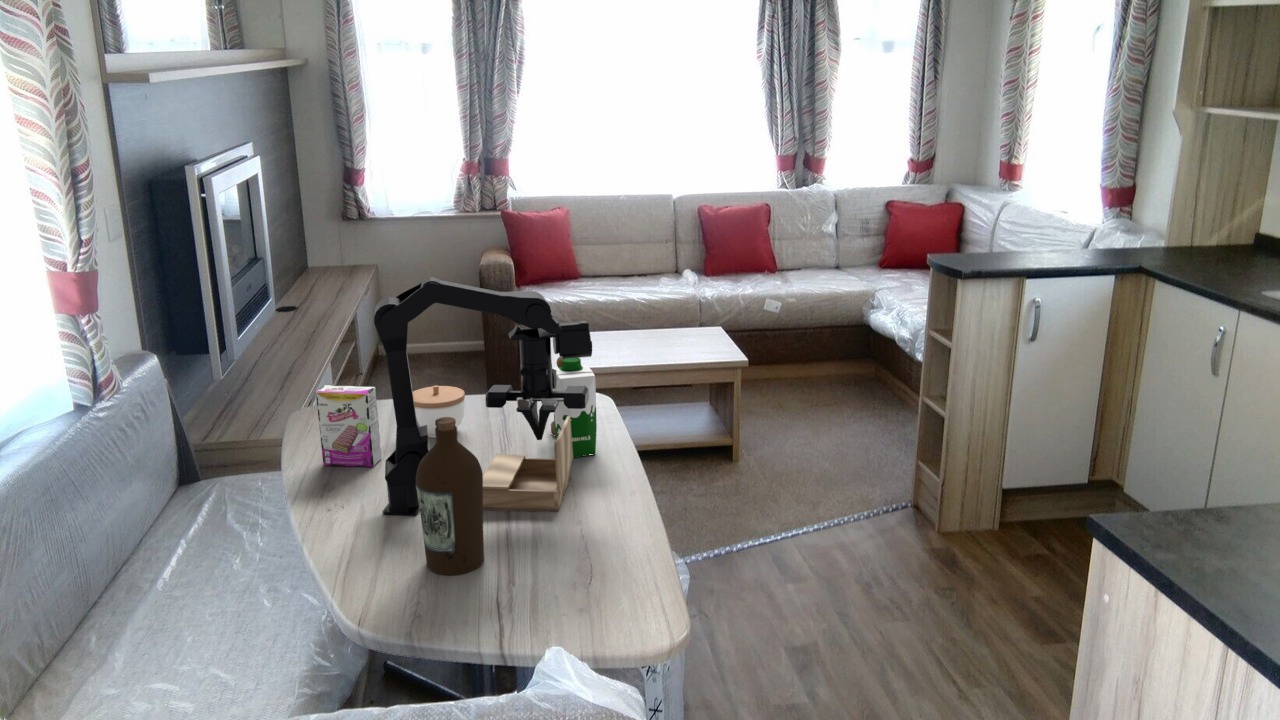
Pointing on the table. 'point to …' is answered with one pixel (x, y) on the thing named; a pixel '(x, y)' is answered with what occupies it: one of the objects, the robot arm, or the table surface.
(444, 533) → the olive oil
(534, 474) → the wooden box
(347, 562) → the table surface
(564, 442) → the flap
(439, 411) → the lidded bowl
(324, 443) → the candy bar box
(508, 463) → the flap
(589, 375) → the milk carton
